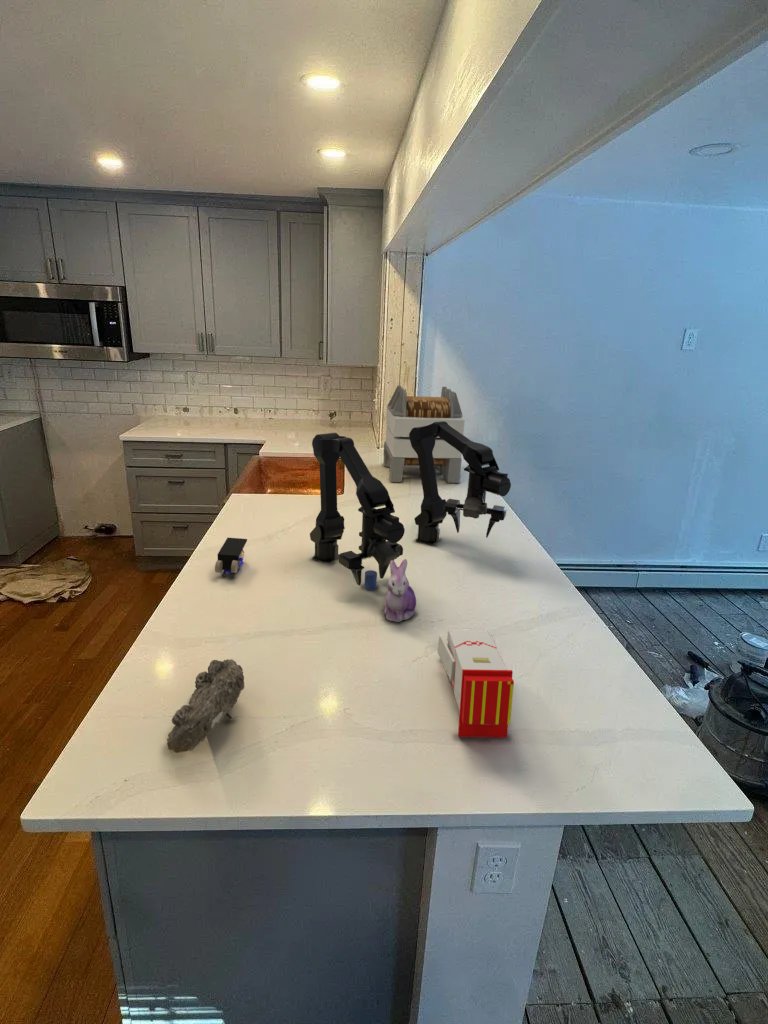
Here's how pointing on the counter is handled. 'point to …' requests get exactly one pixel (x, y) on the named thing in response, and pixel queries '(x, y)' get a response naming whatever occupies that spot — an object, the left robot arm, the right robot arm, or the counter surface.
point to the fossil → (206, 705)
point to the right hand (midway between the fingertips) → (472, 534)
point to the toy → (478, 682)
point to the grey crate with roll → (417, 414)
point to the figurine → (399, 594)
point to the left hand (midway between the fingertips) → (370, 581)
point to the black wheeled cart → (230, 556)
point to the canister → (370, 580)
